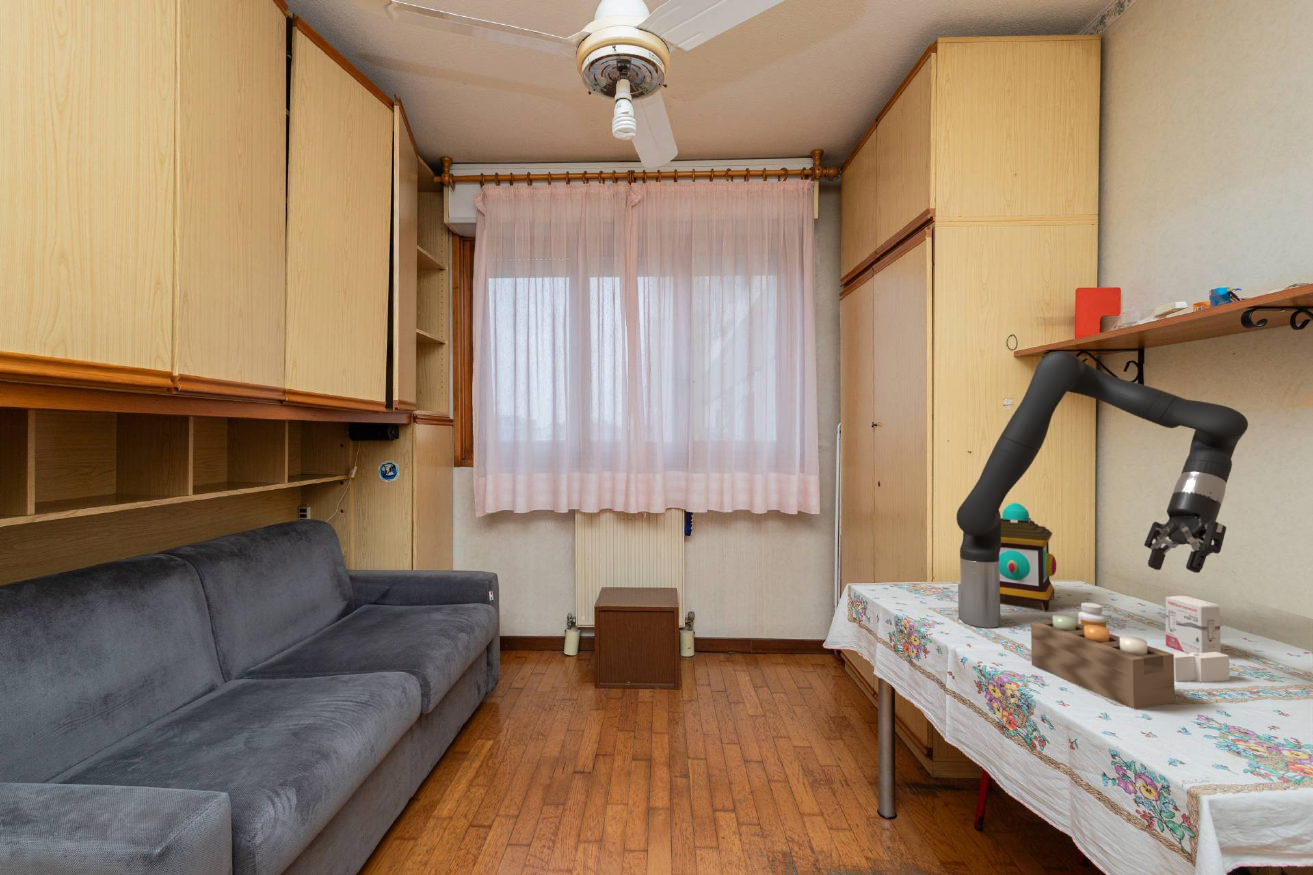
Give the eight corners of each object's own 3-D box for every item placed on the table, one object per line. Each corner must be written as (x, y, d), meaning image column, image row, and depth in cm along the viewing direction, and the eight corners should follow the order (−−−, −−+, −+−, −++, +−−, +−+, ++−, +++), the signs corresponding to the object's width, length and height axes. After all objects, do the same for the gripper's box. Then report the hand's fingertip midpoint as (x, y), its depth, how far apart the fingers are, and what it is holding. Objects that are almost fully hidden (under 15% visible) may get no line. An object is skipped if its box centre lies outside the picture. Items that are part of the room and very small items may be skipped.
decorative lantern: (973, 602, 170) (971, 503, 171) (986, 588, 186) (984, 498, 186) (1053, 614, 157) (1051, 508, 158) (1060, 599, 173) (1058, 501, 173)
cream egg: (1114, 652, 109) (1114, 637, 109) (1130, 650, 110) (1130, 635, 110) (1136, 660, 105) (1136, 644, 105) (1152, 658, 106) (1152, 642, 106)
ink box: (1164, 645, 134) (1162, 595, 134) (1182, 644, 134) (1181, 594, 134) (1202, 658, 125) (1201, 605, 125) (1222, 657, 125) (1221, 605, 125)
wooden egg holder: (1031, 664, 123) (1030, 623, 123) (1067, 660, 125) (1067, 619, 125) (1133, 708, 102) (1132, 659, 103) (1174, 702, 105) (1173, 654, 105)
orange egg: (1079, 640, 115) (1079, 625, 115) (1094, 638, 116) (1094, 623, 116) (1099, 647, 111) (1098, 632, 112) (1114, 645, 112) (1114, 630, 112)
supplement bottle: (1112, 650, 131) (1111, 608, 131) (1086, 648, 132) (1085, 607, 132) (1098, 642, 136) (1098, 602, 136) (1073, 640, 137) (1073, 601, 137)
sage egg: (1048, 629, 122) (1048, 615, 122) (1062, 627, 123) (1062, 614, 123) (1065, 635, 118) (1065, 621, 118) (1080, 633, 119) (1080, 619, 119)
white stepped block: (1231, 676, 117) (1231, 649, 117) (1254, 698, 107) (1253, 668, 107) (1138, 663, 124) (1137, 637, 124) (1152, 682, 114) (1151, 654, 114)
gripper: (1149, 492, 124) (1125, 559, 121) (1213, 487, 110) (1187, 562, 107) (1181, 508, 123) (1158, 575, 121) (1250, 504, 109) (1225, 581, 107)
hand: (1172, 569), depth 114 cm, fingers open, 8 cm apart
